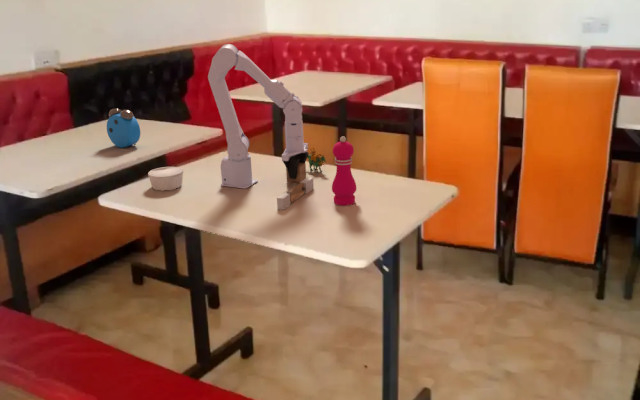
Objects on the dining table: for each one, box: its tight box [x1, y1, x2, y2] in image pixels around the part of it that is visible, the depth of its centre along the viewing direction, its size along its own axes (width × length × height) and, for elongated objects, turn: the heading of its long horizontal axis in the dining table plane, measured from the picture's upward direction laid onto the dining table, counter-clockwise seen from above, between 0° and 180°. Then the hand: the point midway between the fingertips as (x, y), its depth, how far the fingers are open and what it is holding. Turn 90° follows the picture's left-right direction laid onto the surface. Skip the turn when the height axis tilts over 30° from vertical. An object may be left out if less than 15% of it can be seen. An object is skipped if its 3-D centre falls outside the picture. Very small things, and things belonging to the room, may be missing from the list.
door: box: [288, 183, 306, 204], centre depth 203 cm, size 2×9×3 cm, turn 155°
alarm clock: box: [106, 108, 141, 149], centre depth 265 cm, size 13×6×15 cm, turn 57°
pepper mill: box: [331, 136, 357, 206], centre depth 196 cm, size 7×7×20 cm
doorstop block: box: [285, 162, 307, 185], centre depth 218 cm, size 5×4×6 cm
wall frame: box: [276, 176, 314, 211], centre depth 203 cm, size 2×20×4 cm, turn 155°
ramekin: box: [147, 166, 184, 192], centre depth 218 cm, size 11×11×5 cm
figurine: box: [307, 146, 327, 173], centre depth 228 cm, size 3×12×8 cm, turn 42°
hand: (296, 176), depth 218 cm, fingers closed on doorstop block, 4 cm apart
